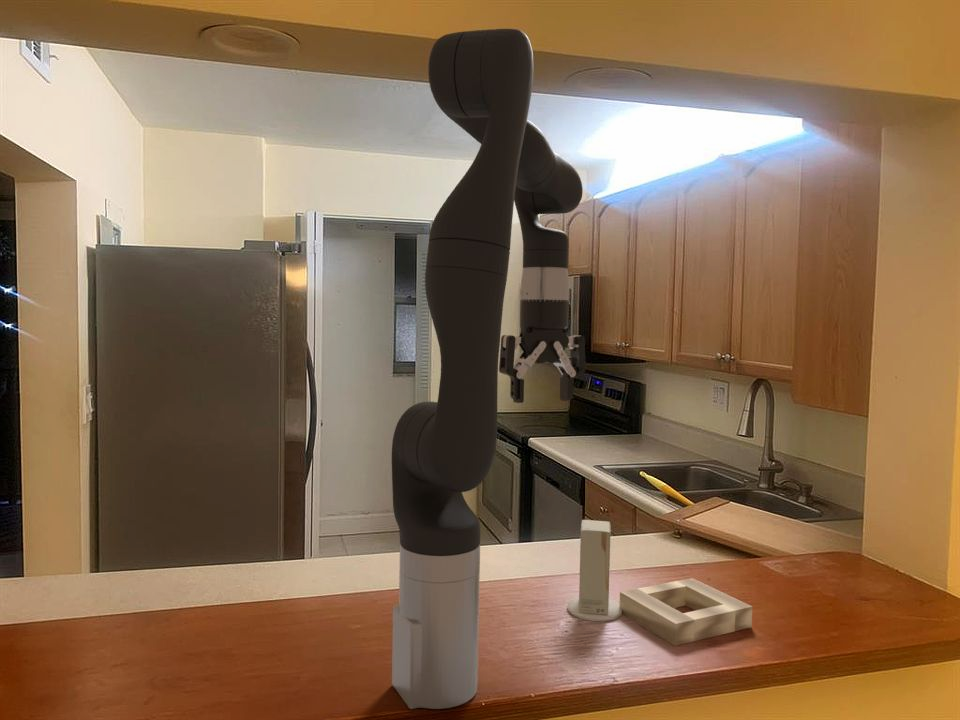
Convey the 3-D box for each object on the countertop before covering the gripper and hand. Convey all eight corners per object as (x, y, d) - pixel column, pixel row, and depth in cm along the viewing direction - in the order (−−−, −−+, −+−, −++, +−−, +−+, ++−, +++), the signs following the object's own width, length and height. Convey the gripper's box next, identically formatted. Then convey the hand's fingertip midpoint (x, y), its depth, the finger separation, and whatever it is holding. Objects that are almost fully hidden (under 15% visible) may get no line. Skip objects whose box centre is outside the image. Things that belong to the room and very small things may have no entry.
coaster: (588, 625, 101) (588, 621, 101) (557, 604, 108) (557, 600, 108) (633, 615, 104) (633, 611, 104) (600, 596, 111) (600, 592, 111)
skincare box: (608, 616, 102) (611, 532, 102) (578, 613, 103) (580, 530, 102) (608, 599, 109) (610, 520, 108) (579, 596, 109) (581, 518, 109)
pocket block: (675, 645, 95) (675, 623, 95) (619, 611, 106) (619, 591, 105) (751, 627, 101) (752, 606, 101) (691, 596, 112) (692, 578, 112)
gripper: (515, 296, 104) (513, 406, 105) (596, 298, 111) (593, 402, 112) (492, 297, 111) (491, 400, 112) (570, 299, 117) (567, 397, 118)
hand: (542, 401), depth 112 cm, fingers open, 8 cm apart
